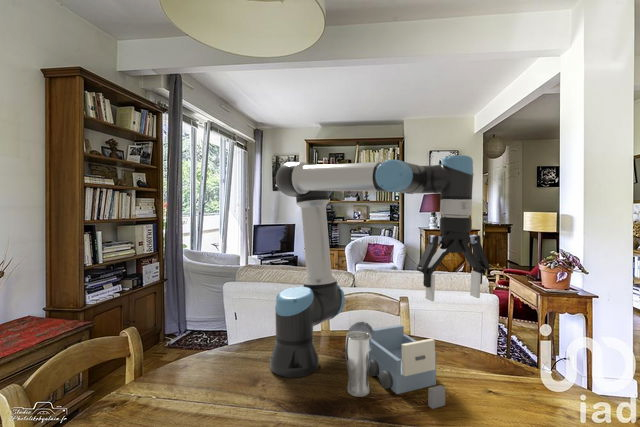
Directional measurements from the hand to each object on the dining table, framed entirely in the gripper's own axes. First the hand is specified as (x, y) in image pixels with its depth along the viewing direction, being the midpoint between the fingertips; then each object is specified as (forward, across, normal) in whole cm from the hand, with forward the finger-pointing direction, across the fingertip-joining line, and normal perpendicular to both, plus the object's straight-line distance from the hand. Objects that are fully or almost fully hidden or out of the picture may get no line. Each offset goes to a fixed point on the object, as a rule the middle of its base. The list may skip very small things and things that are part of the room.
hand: (452, 298), depth 86 cm
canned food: (+27, -12, +32) cm, 44 cm away
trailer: (+26, -7, +8) cm, 28 cm away
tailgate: (+21, -6, +4) cm, 22 cm away
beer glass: (+27, -22, +9) cm, 36 cm away
